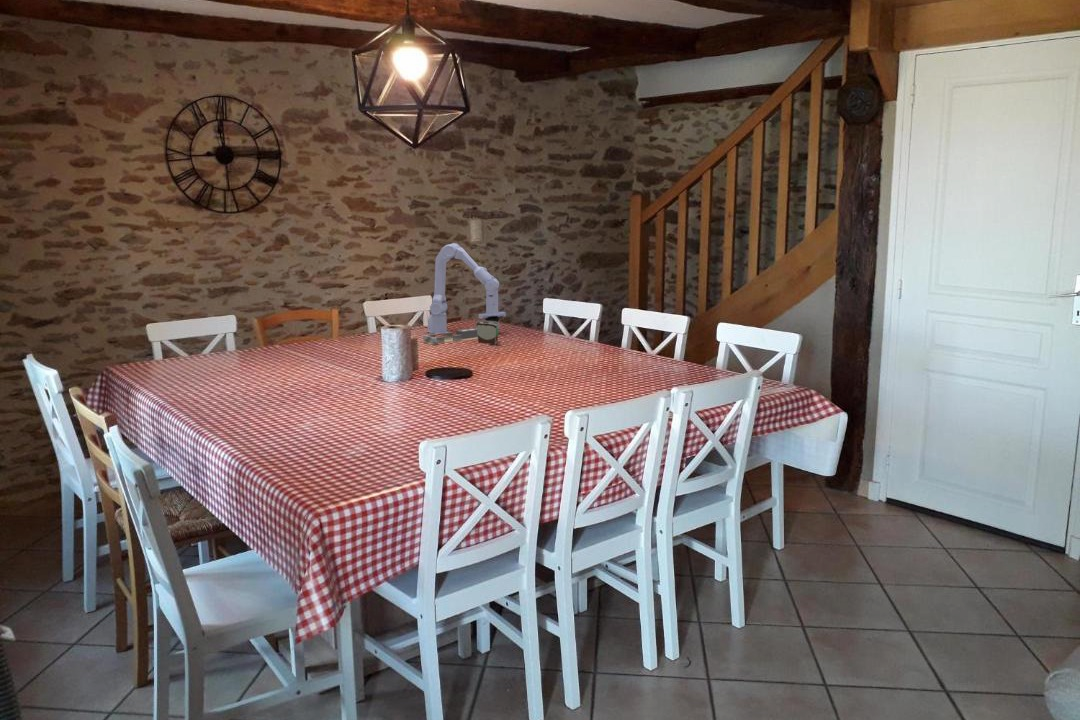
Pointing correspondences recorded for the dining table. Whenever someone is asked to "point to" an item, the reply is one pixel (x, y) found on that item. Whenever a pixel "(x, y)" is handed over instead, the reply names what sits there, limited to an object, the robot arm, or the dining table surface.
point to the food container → (488, 332)
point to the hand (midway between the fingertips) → (492, 332)
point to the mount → (443, 338)
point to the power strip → (468, 333)
